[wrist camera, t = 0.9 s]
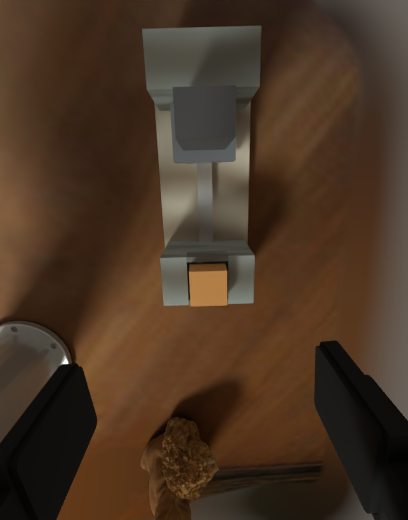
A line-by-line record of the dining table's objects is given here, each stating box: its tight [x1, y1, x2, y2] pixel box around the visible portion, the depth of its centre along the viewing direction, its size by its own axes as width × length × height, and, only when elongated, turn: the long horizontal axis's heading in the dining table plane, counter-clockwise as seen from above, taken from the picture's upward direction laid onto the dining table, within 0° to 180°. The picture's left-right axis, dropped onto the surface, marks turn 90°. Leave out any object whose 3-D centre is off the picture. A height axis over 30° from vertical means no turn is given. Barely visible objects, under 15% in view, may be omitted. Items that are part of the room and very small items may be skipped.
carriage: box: [170, 85, 236, 164], centre depth 23 cm, size 5×6×12 cm
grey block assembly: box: [142, 26, 261, 306], centre depth 27 cm, size 23×10×8 cm, turn 2°
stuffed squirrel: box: [141, 417, 219, 520], centre depth 37 cm, size 10×14×13 cm
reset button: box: [189, 263, 227, 306], centre depth 25 cm, size 3×3×2 cm
